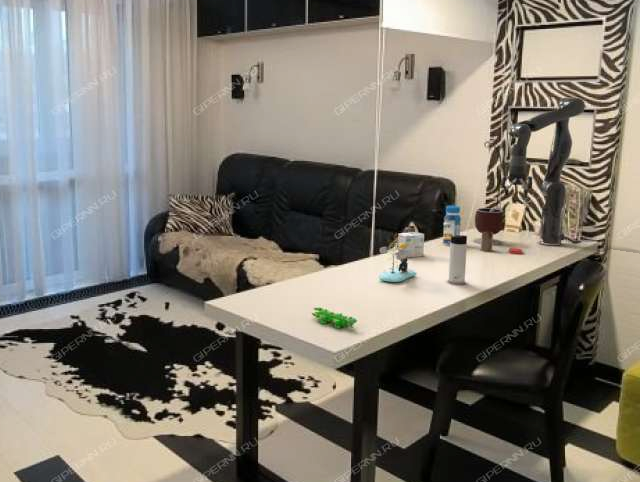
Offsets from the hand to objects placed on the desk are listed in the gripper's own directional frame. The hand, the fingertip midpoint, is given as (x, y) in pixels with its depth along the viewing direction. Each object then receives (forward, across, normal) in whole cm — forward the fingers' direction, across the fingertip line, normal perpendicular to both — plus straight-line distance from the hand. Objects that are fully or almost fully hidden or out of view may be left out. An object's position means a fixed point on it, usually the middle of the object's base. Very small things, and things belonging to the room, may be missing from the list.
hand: (515, 196), depth 302 cm
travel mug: (+26, +42, +65) cm, 82 cm away
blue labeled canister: (+26, +29, -5) cm, 39 cm away
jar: (+26, +14, +7) cm, 31 cm away
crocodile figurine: (+26, +94, +117) cm, 153 cm away
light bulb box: (+26, +54, +20) cm, 63 cm away
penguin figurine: (+26, +66, +60) cm, 93 cm away
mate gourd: (+26, +9, -11) cm, 30 cm away
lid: (+25, +2, +11) cm, 27 cm away
